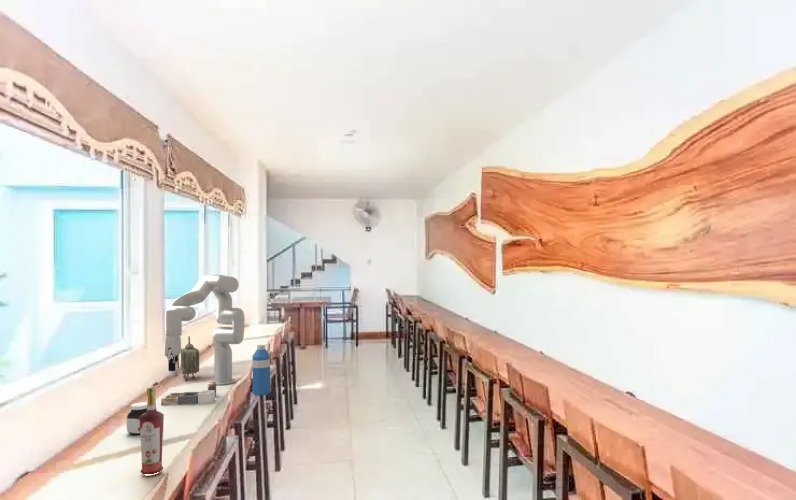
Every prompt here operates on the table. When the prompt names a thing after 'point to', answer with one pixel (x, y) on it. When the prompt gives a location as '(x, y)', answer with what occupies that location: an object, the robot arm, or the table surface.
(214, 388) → the black cell
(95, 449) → the table surface
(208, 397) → the cup
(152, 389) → the liquor
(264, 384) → the water bottle
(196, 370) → the olive tall ribbed piece
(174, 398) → the trough
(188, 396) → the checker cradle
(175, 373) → the cylinder
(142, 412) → the spread jar
